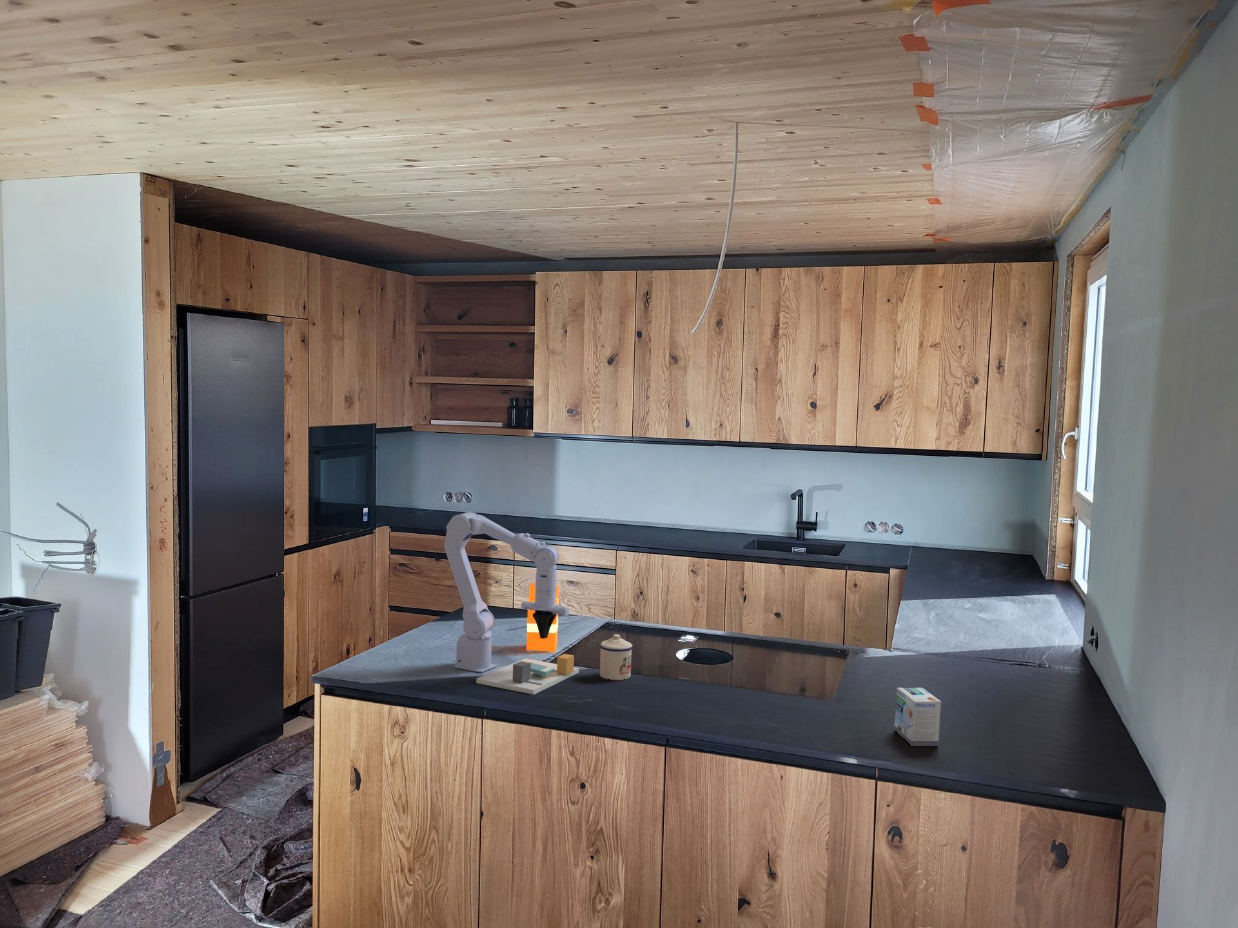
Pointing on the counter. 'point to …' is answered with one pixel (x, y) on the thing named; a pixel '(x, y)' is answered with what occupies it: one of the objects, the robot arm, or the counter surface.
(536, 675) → the panel
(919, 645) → the counter surface
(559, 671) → the block
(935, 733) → the light bulb box
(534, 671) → the teal flat block
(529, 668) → the charcoal fader
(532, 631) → the orange juice
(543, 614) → the robot arm
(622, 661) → the teacup with lid
